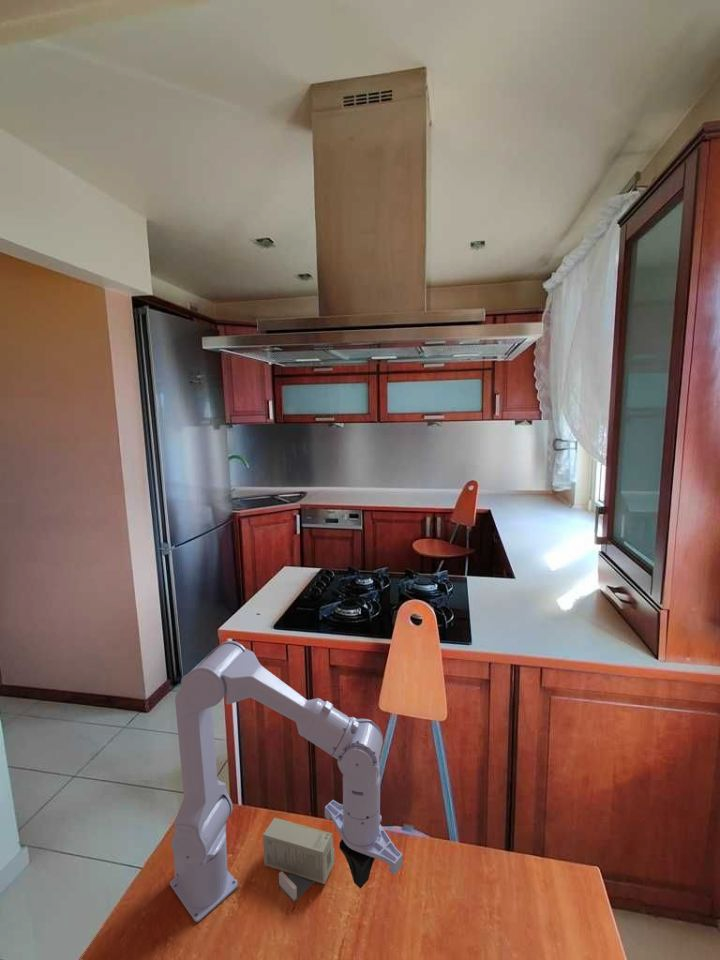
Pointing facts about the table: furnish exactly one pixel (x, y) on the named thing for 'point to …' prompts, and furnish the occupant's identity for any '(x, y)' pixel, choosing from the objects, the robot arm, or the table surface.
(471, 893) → the table surface
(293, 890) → the u rest
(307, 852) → the skincare box
